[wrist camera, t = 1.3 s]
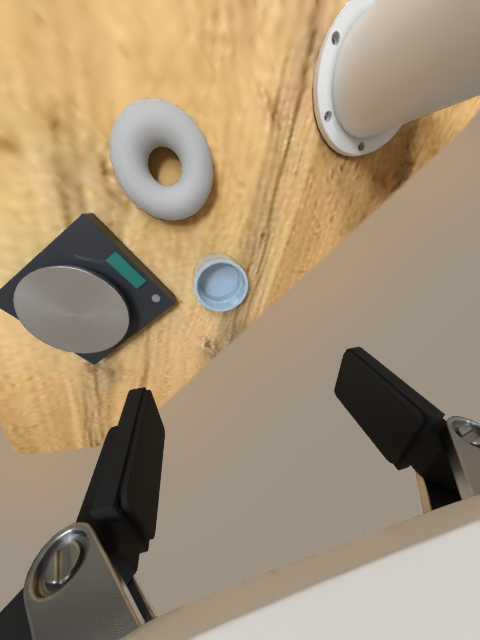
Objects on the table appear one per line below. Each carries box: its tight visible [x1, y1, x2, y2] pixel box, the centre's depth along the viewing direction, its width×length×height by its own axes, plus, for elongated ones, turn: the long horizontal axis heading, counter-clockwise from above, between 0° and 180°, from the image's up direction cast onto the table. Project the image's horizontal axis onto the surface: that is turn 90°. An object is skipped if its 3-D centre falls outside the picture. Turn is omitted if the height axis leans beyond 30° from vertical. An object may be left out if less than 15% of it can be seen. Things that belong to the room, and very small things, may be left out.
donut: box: [110, 99, 214, 221], centre depth 21 cm, size 10×3×10 cm
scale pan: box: [13, 265, 130, 353], centre depth 24 cm, size 11×11×1 cm
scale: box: [0, 213, 175, 365], centre depth 26 cm, size 15×13×3 cm
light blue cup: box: [193, 253, 248, 312], centre depth 28 cm, size 7×7×4 cm
